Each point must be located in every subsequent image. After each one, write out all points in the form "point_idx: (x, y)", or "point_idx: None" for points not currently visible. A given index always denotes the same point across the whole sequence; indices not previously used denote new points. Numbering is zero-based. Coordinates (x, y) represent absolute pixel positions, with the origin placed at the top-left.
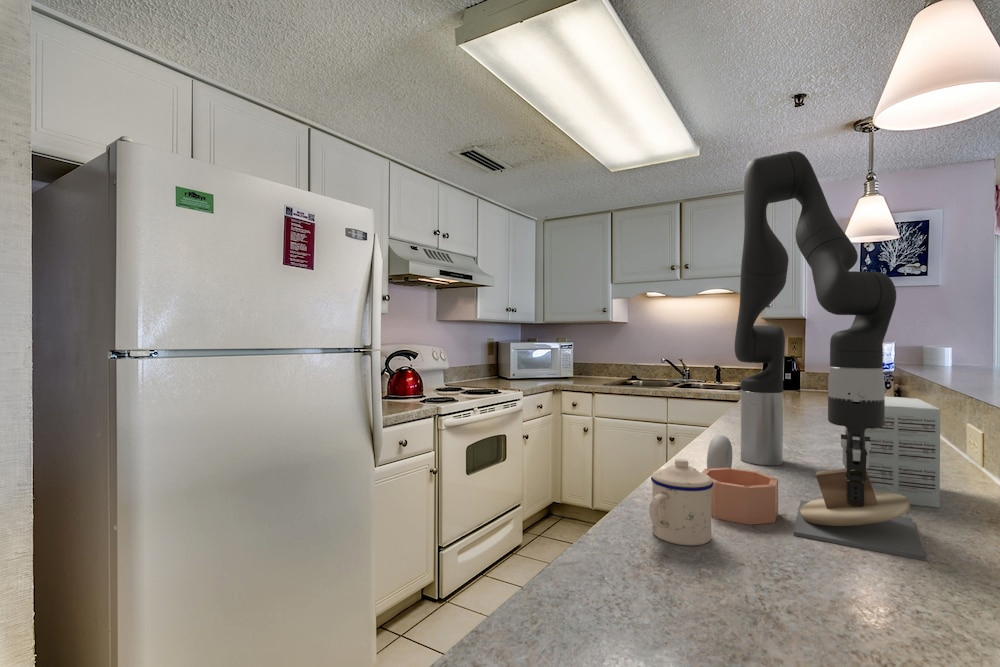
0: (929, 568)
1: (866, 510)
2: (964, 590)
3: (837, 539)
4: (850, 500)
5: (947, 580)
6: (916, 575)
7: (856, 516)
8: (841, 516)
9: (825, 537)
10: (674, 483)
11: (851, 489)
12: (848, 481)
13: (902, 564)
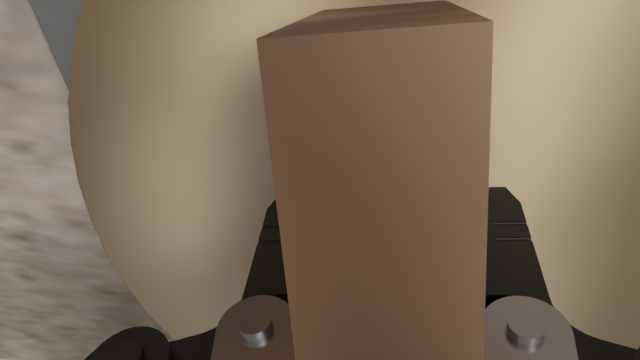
0: (108, 293)
1: (230, 249)
2: (21, 332)
3: (57, 59)
4: (272, 204)
5: (54, 314)
6: (10, 264)
7: (111, 200)
8: (121, 120)
9: (32, 3)
10: None
11: (254, 271)
12: (286, 301)
13: (68, 241)
